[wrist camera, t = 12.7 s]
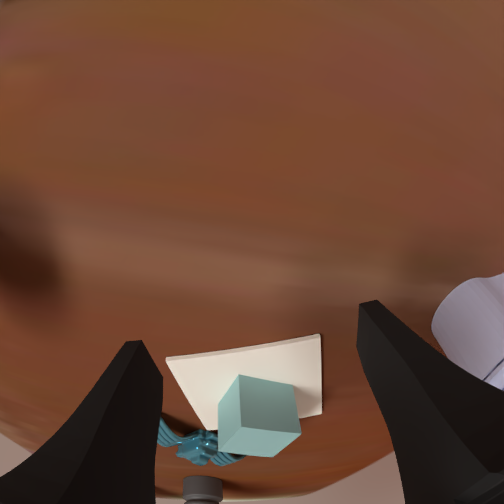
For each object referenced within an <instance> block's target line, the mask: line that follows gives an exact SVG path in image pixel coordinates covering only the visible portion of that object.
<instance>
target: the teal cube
mask: <svg viewBox="0 0 504 504" xmlns="http://www.w3.org/2000/svg"><path fill="white" fill-rule="evenodd" d="M301 434H302V433H301V428H300V422H299V417H298V412H297V406H296V401H295V396H294V390H293V385H291V384H285V383H280V382H274V381H269V380H264V379H259V378H254V377H249V376H245V375H240V374H238V376H237V377H236V379H235V380H234V382H233V383H232V385H231V386H230V387H229V389H228V390H227V392H226V393H225V395H224V396H223V398H222V399H221V400H220V402H219V403H218V451H220V452H227V453H235V454H243V455H252V456H263V457H273V456H275V455H276V454H277V453H278V452H280V451H281V450H282V449H283V448H285V447H286V446H287V445H288V444H290V443H291V442H292V441H293V440H295V439H296V438H297V437H298V436H299V435H301Z"/></svg>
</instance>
